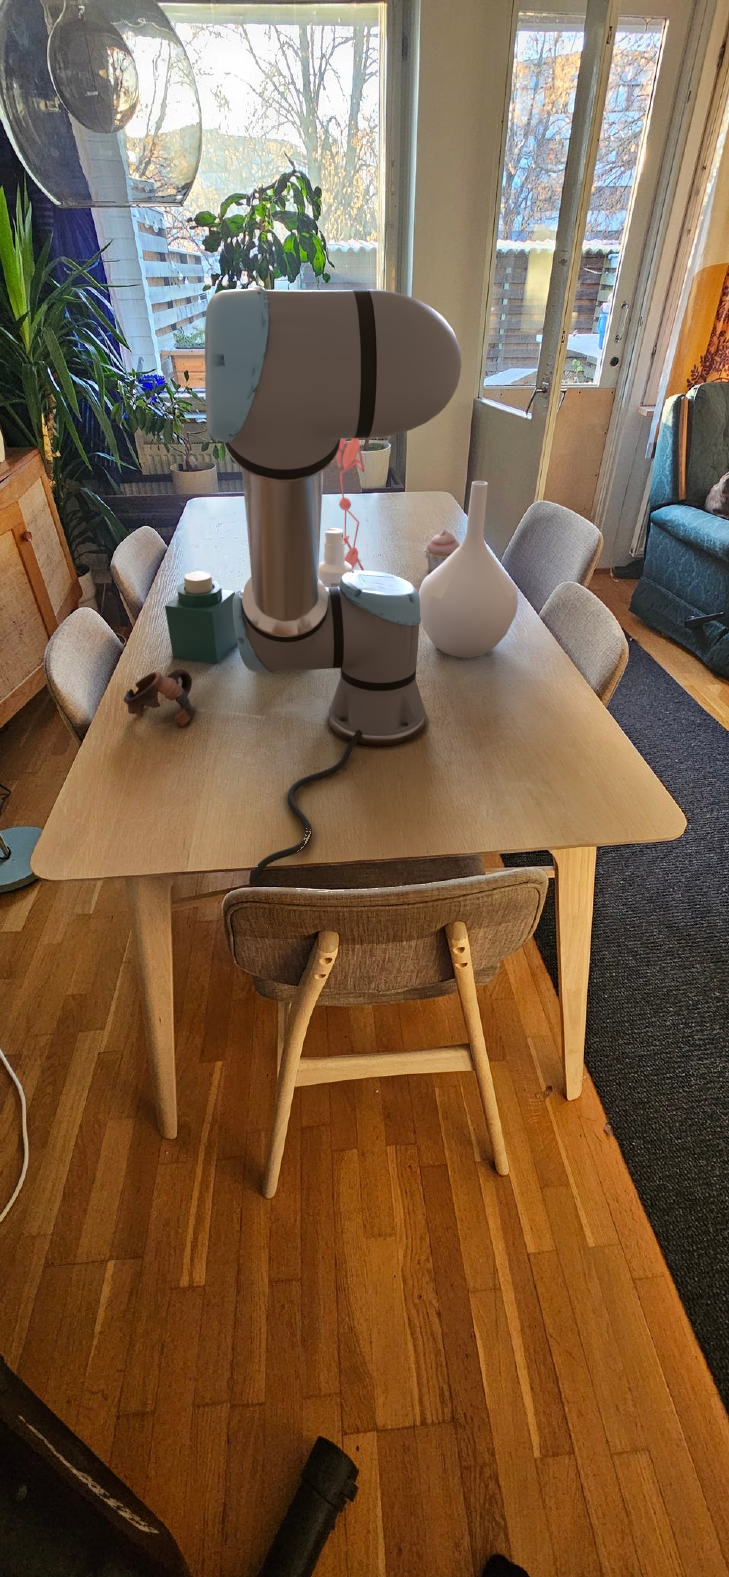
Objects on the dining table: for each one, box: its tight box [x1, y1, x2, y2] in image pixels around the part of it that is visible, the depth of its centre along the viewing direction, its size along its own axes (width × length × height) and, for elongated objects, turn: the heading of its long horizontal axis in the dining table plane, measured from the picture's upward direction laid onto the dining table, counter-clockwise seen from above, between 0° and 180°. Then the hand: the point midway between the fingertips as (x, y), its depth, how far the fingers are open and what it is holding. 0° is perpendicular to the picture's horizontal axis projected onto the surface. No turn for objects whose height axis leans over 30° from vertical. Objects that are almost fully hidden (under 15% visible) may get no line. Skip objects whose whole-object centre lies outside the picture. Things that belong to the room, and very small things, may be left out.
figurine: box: [331, 438, 365, 571], centre depth 161 cm, size 15×26×35 cm, turn 12°
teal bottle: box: [164, 580, 238, 664], centre depth 132 cm, size 10×9×12 cm
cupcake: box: [423, 529, 460, 574], centre depth 168 cm, size 9×9×10 cm
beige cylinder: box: [183, 570, 213, 593], centre depth 128 cm, size 5×5×3 cm
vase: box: [418, 480, 519, 658], centre depth 129 cm, size 18×18×30 cm
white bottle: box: [318, 527, 353, 587], centre depth 142 cm, size 7×7×18 cm
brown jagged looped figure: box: [123, 668, 194, 727], centre depth 115 cm, size 12×10×8 cm
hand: (280, 579), depth 126 cm, fingers closed
